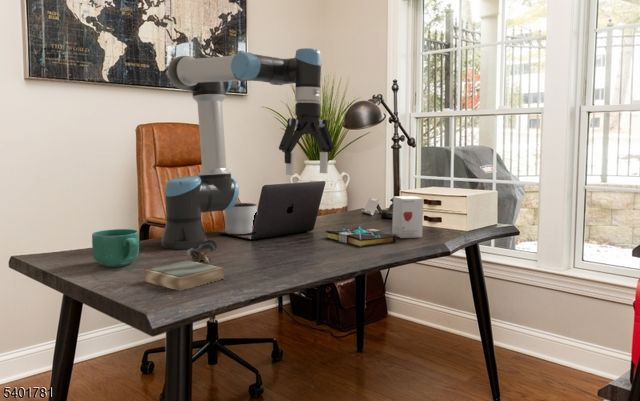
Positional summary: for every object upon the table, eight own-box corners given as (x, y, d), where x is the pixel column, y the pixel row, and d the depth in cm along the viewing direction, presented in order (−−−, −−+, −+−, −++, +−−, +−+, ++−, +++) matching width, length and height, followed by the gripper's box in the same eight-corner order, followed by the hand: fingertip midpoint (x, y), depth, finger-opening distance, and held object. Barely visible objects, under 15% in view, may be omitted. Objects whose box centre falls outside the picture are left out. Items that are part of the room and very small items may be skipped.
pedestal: (144, 281, 136) (144, 269, 136) (189, 271, 147) (188, 259, 147) (179, 291, 128) (179, 277, 128) (223, 279, 139) (223, 267, 139)
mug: (86, 264, 155) (84, 231, 154) (127, 257, 164) (126, 227, 163) (110, 274, 144) (108, 239, 142) (153, 267, 152) (152, 234, 151)
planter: (221, 231, 212) (220, 203, 211) (251, 229, 218) (250, 202, 217) (230, 236, 201) (230, 207, 200) (262, 234, 207) (262, 205, 206)
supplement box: (400, 238, 199) (401, 198, 198) (391, 234, 208) (392, 196, 206) (423, 237, 201) (424, 198, 200) (413, 233, 210) (414, 195, 208)
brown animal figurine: (215, 262, 153) (223, 250, 162) (200, 242, 152) (209, 231, 160) (194, 275, 155) (203, 262, 164) (179, 256, 154) (189, 244, 162)
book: (397, 243, 191) (397, 230, 191) (360, 249, 182) (360, 234, 181) (359, 235, 209) (359, 222, 208) (324, 239, 199) (324, 226, 199)
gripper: (283, 99, 148) (283, 176, 150) (346, 104, 165) (344, 173, 167) (266, 100, 153) (266, 174, 156) (329, 105, 170) (328, 171, 173)
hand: (307, 174), depth 161 cm, fingers open, 13 cm apart
